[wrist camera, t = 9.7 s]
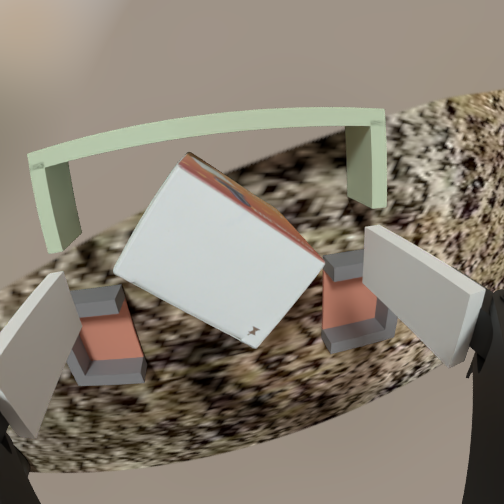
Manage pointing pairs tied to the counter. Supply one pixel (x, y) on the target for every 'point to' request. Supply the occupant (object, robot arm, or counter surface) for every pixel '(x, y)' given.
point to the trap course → (56, 157)
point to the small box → (218, 253)
